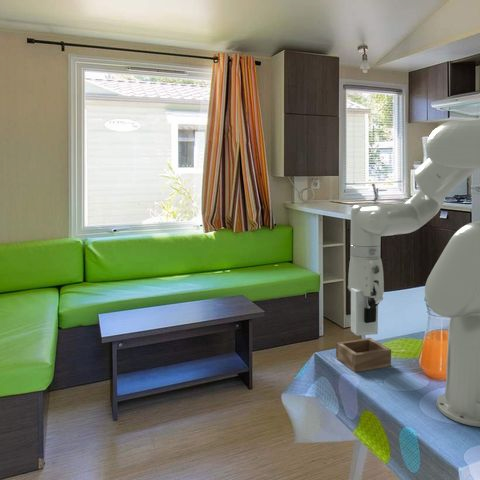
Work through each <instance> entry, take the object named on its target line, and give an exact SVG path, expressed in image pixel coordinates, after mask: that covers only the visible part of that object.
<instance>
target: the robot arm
mask: <svg viewBox="0 0 480 480" xmlns="http://www.w3.org/2000/svg"><path fill="white" fill-rule="evenodd" d="M425 145H426V146H425V152H426V155H427V157H428V158H427V159H426V160H425V161H423V163H421V164H420V165H419V166H418V167H417V168H416V169H415V172H414V174H413V175H414V177H413V178H414V182H415V183H416V186H417V187H418V188H419V189H418V191H416V193H414V195H413V196H412V197H410V198H409V199H408V200H407V201H405V202H404V203H393V204H392V203H390V204H389V203H388V204H380V205H378V204H374V203H371V204H370V203H366V204H364V203H363V204H362V203H360V204H359V203H358V204H355V205H353V206H352V207H351V209H350V242H349V243H350V247H349V248H350V250H349V251H350V252H349V253H350V256H349V258H350V260H349V263H348V265H349V266H348V275H347V276H348V278H347V281H348V283H347V284H348V285H347V289H348V291H349V293H350V295H351V288H354V289H356V290H359V291H361V295H363V296H365V302H366V308H364V322H365V323H371V322H375V321H376V308H377V307H378V308H379V304H380V303H381V302H382V301H383V300H384V297H383V296H384V293H385V290H384V289H385V288H384V287H385V285H384V284H385V282H384V279H385V278H384V266H383V262H382V258H381V241H382V240H381V239H382V238H381V237H388V236H394V235H404V234H410V233H412V232H413V233H414V232H416V231H417V230H419V229H420V228H421V227H423V226H424V225H426V224H427V223H428V222H429V221H430V220H431V219H433V218H434V217H435V216H436V215H437V214H438V213H439V211H441V208H442V206H443V204H444V202H445V199H446V196H448V195H450V193H451V192H453V191H454V190H455V189H456V188H457V187H458V186H459V185H461V184H462V183H463V182H464V181H466V180H467V179H468V178H469V177H470V176H472V175H473V174H474V173H475V172H476V171H478V169H480V119H469V120H451V121H446V122H444V123H441V124H440V125H438V126H437V127H436V128H435V129H433V130H432V132H431V133H430V135H429V136H428V138H427V140H426V144H425ZM371 293H373V295H372V296H371ZM424 296H425V297H424V298H425V301H426V304H427V305H428V307H429V309H431V311H432V312H434V313H435V314H436V315H438V316H440V317H444V318H448V319H449V318H450V319H449V323H448V331H447V348H446V349H447V351H446V352H447V353H446V370H445V372H446V374H445V392H444V393H443V394H441V395H440V396H438V397H437V399H436V407H437V409H438V410H439V412H440V413H441V414H442V415H444V416H445V417H447V418H449V419H450V420H452V421H454V422H457V423H460V424H463V425H467V426H471V427H479V428H480V220H477V221H476V220H475V221H473V222H469V223H467V224H465V225H463V226H462V227H459V229H458V230H457V231H455V232H454V234H453V235H452V236H451V238H450V239H449V241H448V243H447V244H446V246H445V247H444V249H443V251H442V252H441V254H440V255H439V257H438V259H437V261H436V262H435V264H434V266H433V268H432V269H431V271H430V274H429V275H428V277H427V279H426V282H425V286H424ZM369 298H372V299H373V300H371V301H370V300H369Z"/></svg>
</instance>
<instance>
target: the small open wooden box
mask: <svg viewBox="0 0 480 480" xmlns="http://www.w3.org/2000/svg"><path fill="white" fill-rule="evenodd" d="M336 358H337V359H336ZM335 359H336V360H338V361H339V362H340V363H342V364H343V365H345V366H346V367H347V368H348V369H350V370H351V371H353V372H354V373H358V372H364V371H369V370H370V371H371V370H375V369H381V368H388V367H392V362H391V361H392V348H389V347H387V346H385V345H383V344H382V343H381V342H378V341H377V340H375V339H373V338H371V337H366V338H360V339H353V340H346V341H340V342H338V341H337V342H336V343H335Z"/></svg>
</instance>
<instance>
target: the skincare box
mask: <svg viewBox="0 0 480 480" xmlns="http://www.w3.org/2000/svg"><path fill="white" fill-rule="evenodd" d="M372 295H373V293H371V296H372ZM369 300H370V301H371V300H373V299H372V298H369ZM364 308H366V302H365V296H363V295H361V291H359V290H356V289H354V288H351V294H350V331H351V333H353V334H354V335H355V336H358V337H359V336H370V335H378V333H379V332H378V329H379V322H378V321H379V306H378V307H377V308H376V321H375V322H371V323H365V322H364Z"/></svg>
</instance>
